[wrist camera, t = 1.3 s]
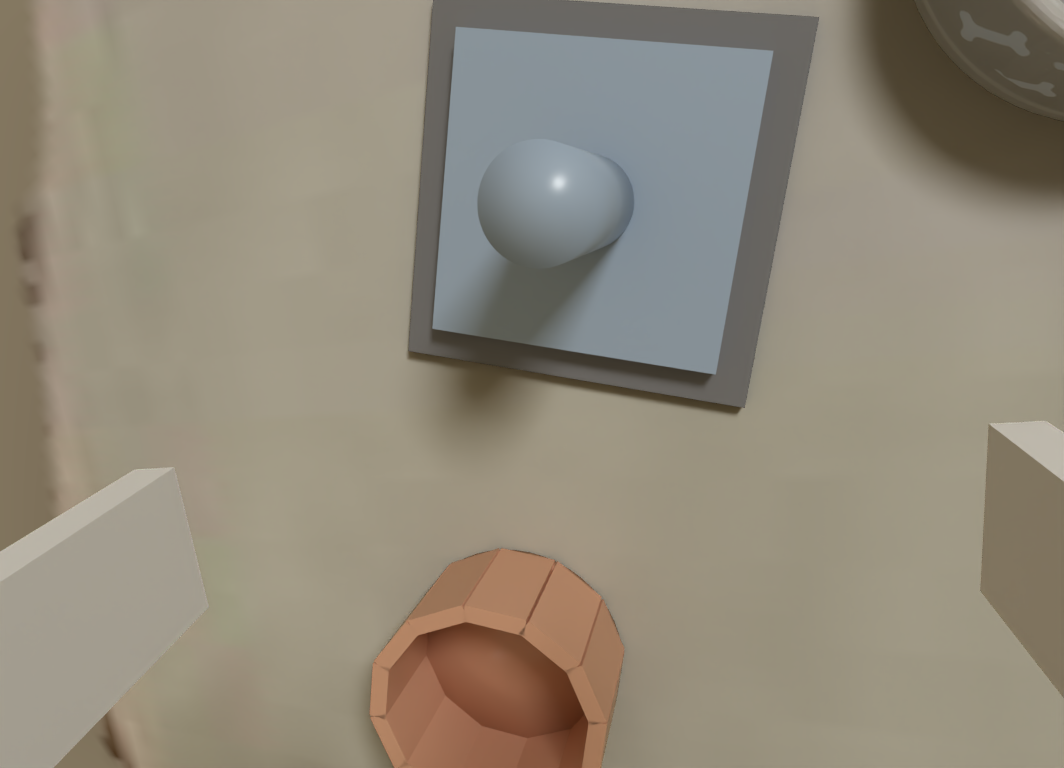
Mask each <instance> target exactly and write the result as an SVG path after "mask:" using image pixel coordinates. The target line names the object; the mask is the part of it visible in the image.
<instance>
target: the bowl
mask: <svg viewBox="0 0 1064 768" xmlns="http://www.w3.org/2000/svg"><path fill="white" fill-rule="evenodd" d="M623 657H624V647H623V644H622V642H621V640H620V637H619V634H618V631H617V628H616V625H615V622H614V620H613V618H612V616H611V614H610V612H609V610H608V608H607V607H606V604H605V602H604V600H603V599H602V600H601V596H600V595H599V594H597V593H596V592H595V591H594V590H593V589H592V588H591V587H590V586H589V585H588V584H587V583H586V582H585V581H584V580H583V579H582V578H581V577H579V576H578V575H577V574H575V573H574V572H572V571H571V570H570V569H568V568H566V567H565V566H563V565H562V564H560V563H559V562H558V561H557V562H555V560H553V559H548V558H546V557H543V556H540V555H537V554H533V553H530V552H524V551H517V550H507V549H503V548H501V550H499V548H498V549H495V550H492V551H487V552H483V553H478V554H475V555H472V556H470V557H467V558H465V559H463V560H459V561H456V562H453V563H451V564H449V566H448V567H447V568H446V569H445V571H444V572H443V573H442V574H441V576H440V577H439V578H438V579H437V580H436V582H435V583H434V584H433V585H432V587H431V588H430V589H429V590H428V592H427V593H426V594H425V595H424V597H423V598H422V599H421V600H420V602H419V603H418V604H417V606H416V607H415V608H414V609H413V611H412V612H411V613H410V615H409V616H408V617H407V619H406V620H405V621H404V623H403V624H402V625H401V626H400V628H399V629H398V630H397V632H396V633H395V634H394V636H393V637H392V638H391V639H390V641H389V642H388V643H387V645H386V646H385V647H384V649H383V650H382V651H381V653H380V654H379V655H378V656H377V658H376V659H375V660H374V663H373V670H372V686H371V701H370V715H372V716H371V717H370V718H371V720H372V723H373V725H374V727H375V729H376V731H377V733H378V735H379V737H380V739H381V741H382V743H383V745H384V748H385V750H386V752H387V754H388V756H389V758H390V760H391V762H392V764H393V766H394V768H601V766H602V761H603V757H604V753H605V748H606V744H607V739H608V735H609V730H610V726H611V722H612V717H613V713H614V708H615V704H616V700H617V694H618V688H619V682H620V675H621V669H622V663H623Z"/></svg>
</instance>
